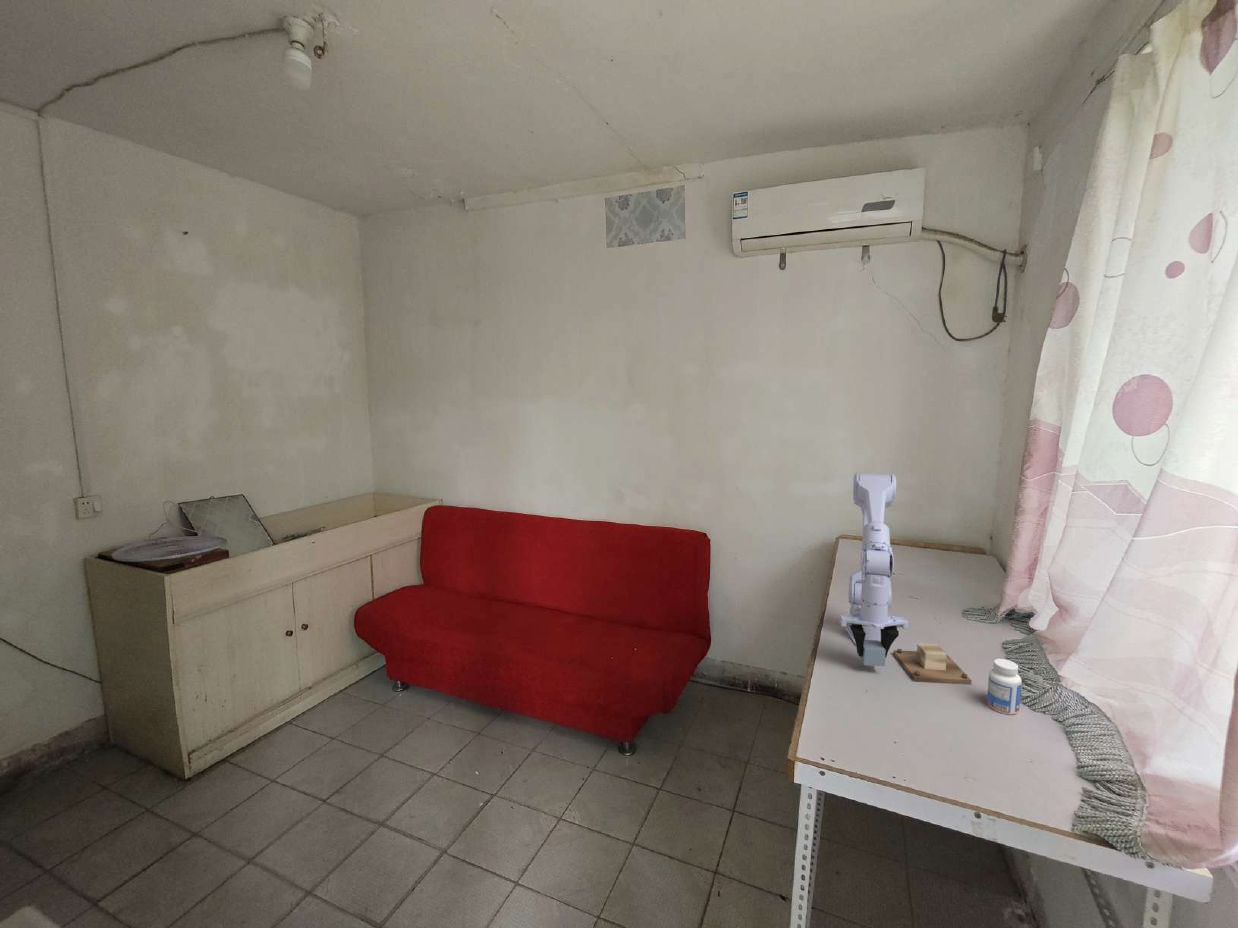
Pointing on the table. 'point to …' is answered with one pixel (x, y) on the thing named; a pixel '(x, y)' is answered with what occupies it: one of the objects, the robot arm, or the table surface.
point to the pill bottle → (1004, 687)
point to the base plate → (926, 675)
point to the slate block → (873, 653)
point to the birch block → (931, 656)
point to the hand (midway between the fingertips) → (871, 654)
